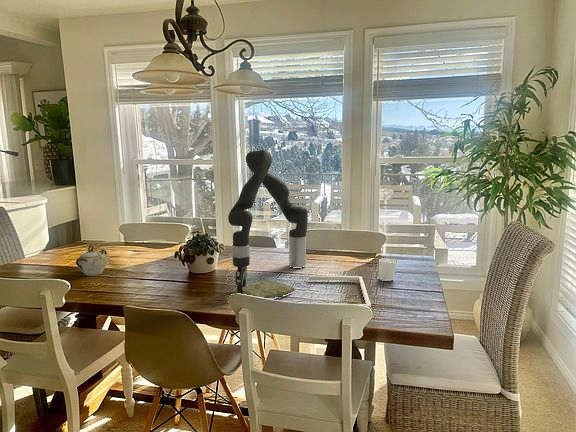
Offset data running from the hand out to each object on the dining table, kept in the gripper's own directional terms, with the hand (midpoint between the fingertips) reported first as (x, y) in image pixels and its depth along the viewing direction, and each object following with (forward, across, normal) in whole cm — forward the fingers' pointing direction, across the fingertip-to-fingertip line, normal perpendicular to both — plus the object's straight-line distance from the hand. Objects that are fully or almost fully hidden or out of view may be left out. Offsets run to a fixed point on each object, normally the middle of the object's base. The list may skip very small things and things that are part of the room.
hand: (241, 289), depth 186 cm
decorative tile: (+2, 0, +11) cm, 11 cm away
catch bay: (+2, 0, +42) cm, 42 cm away
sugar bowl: (+2, -24, -83) cm, 87 cm away
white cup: (+2, -24, +68) cm, 72 cm away
